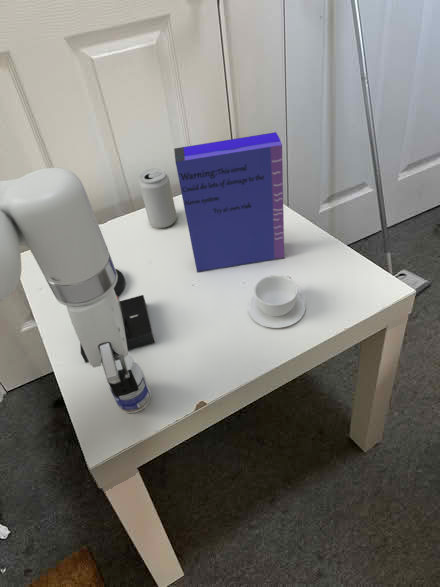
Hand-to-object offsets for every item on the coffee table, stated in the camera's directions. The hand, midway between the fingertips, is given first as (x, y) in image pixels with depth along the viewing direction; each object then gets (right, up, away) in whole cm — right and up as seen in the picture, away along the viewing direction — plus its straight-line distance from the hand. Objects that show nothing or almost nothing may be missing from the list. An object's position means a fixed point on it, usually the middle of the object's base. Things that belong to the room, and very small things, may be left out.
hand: (122, 364), depth 65 cm
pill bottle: (+1, -6, +6) cm, 9 cm away
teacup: (+24, +7, +16) cm, 30 cm away
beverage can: (+1, +26, +40) cm, 47 cm away
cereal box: (+17, +17, +28) cm, 37 cm away
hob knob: (-5, +5, +15) cm, 16 cm away
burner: (-10, +11, +25) cm, 29 cm away
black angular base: (-4, +3, +16) cm, 17 cm away
